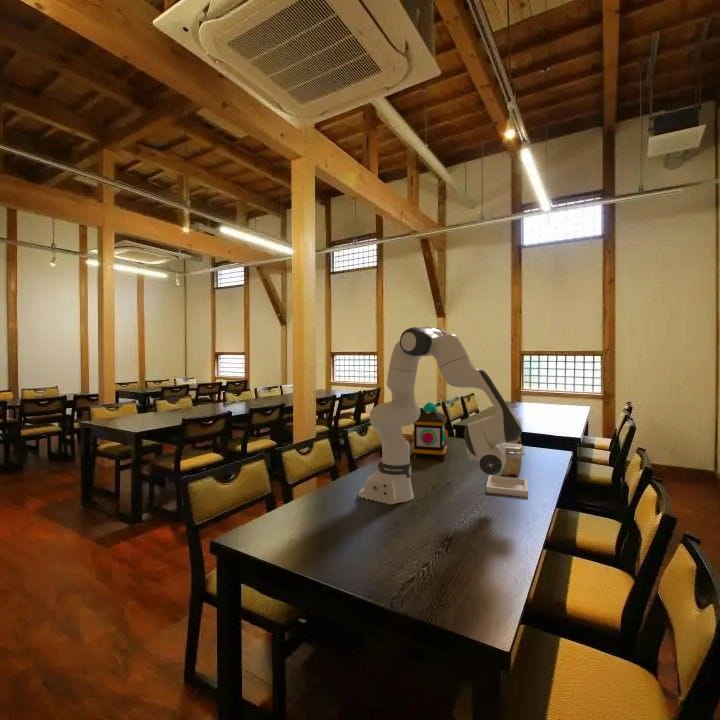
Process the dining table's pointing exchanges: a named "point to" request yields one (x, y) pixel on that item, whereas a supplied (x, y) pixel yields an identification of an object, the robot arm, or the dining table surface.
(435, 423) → the decorative lantern
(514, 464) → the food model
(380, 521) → the dining table surface
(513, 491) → the bin
